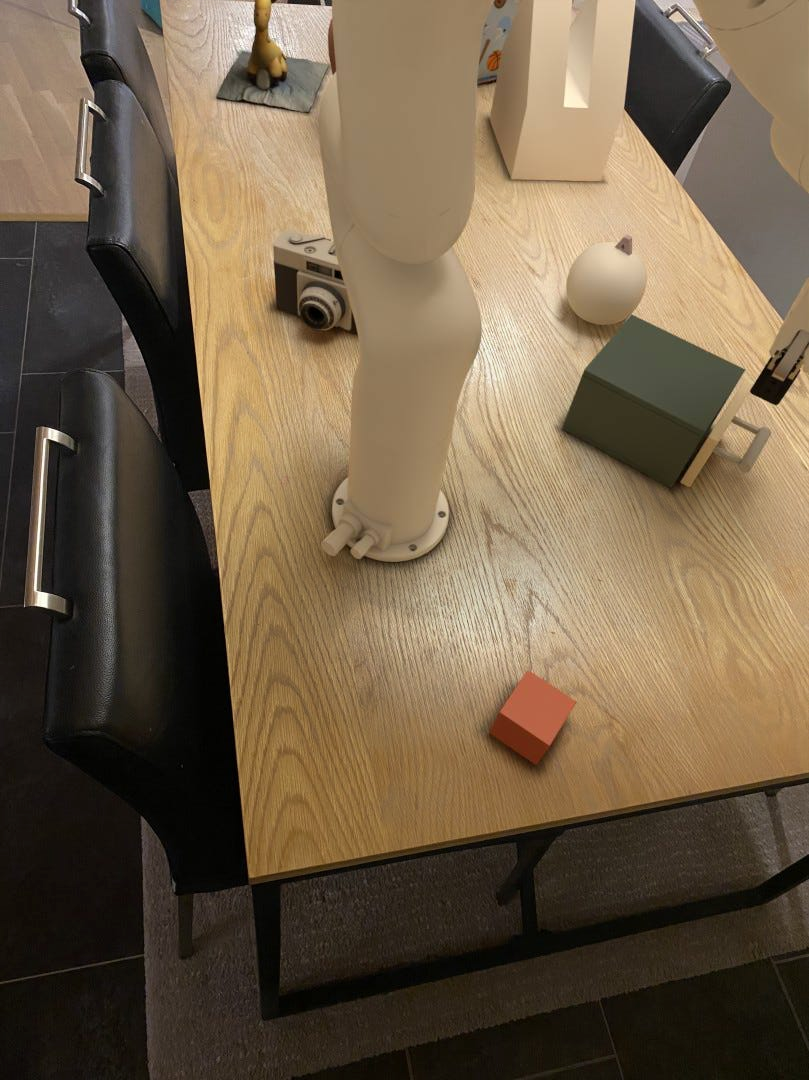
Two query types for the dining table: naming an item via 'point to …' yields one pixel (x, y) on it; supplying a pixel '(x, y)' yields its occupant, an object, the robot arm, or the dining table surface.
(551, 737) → the block
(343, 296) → the camera
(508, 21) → the lunch box
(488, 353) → the dining table surface
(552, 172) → the beige slotted block
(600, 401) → the cabinet
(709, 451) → the drawer
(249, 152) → the dining table surface
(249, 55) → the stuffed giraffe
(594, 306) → the ornament
